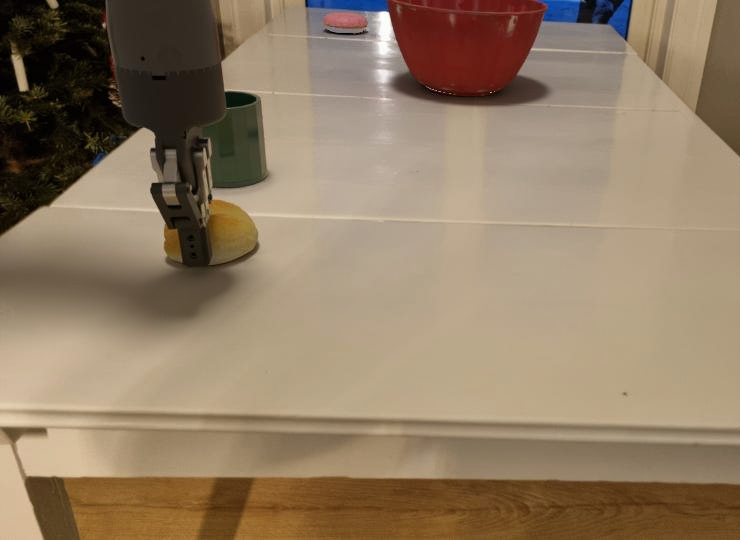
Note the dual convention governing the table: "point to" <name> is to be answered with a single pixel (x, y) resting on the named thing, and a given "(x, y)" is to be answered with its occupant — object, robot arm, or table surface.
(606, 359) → the table surface
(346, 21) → the doughnut
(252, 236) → the bread roll
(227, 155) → the mug
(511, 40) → the mixing bowl
